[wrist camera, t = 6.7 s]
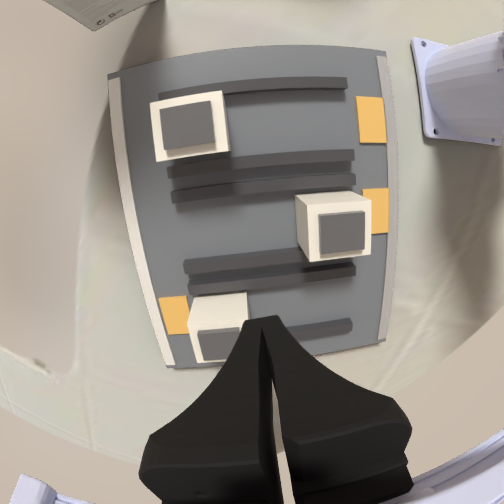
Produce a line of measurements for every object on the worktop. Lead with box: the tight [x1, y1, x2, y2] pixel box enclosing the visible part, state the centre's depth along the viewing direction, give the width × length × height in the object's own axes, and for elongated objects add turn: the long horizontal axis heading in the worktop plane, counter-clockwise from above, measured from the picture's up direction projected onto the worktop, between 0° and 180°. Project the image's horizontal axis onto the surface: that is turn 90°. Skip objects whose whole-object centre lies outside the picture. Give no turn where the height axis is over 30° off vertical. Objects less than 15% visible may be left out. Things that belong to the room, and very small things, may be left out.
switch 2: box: [187, 290, 250, 363], centre depth 18 cm, size 4×3×4 cm
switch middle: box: [294, 190, 372, 262], centre depth 16 cm, size 4×3×4 cm
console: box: [108, 45, 399, 368], centre depth 18 cm, size 18×22×2 cm
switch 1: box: [150, 90, 231, 162], centre depth 14 cm, size 4×3×4 cm
